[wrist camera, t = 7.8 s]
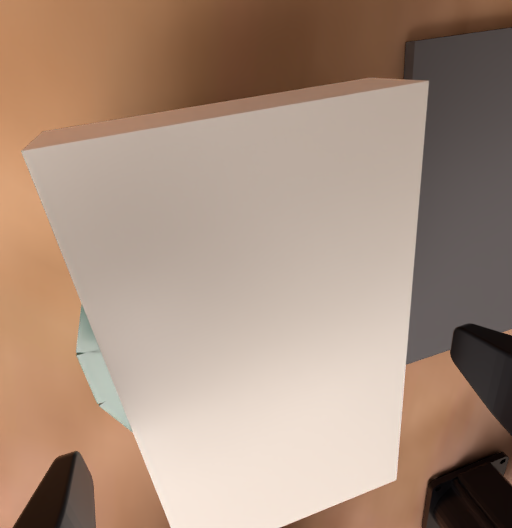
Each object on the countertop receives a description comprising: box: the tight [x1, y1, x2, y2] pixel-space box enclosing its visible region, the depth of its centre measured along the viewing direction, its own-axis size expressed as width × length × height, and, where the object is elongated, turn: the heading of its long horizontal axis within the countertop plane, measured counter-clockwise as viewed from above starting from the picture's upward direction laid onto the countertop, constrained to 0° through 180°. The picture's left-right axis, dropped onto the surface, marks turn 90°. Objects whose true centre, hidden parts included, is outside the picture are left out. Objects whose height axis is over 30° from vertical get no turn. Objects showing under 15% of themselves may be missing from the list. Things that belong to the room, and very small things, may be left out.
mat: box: [404, 27, 512, 365], centre depth 18 cm, size 15×10×1 cm, turn 7°
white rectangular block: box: [21, 78, 429, 528], centre depth 10 cm, size 12×7×2 cm, turn 7°
